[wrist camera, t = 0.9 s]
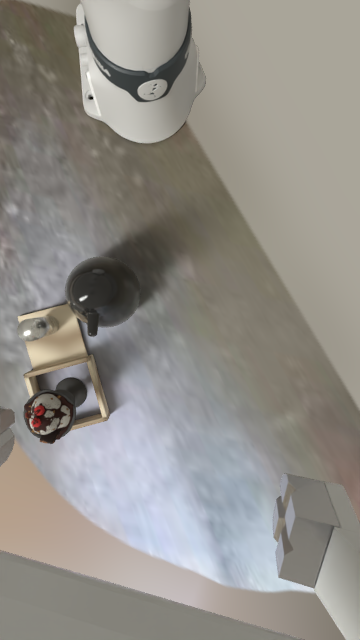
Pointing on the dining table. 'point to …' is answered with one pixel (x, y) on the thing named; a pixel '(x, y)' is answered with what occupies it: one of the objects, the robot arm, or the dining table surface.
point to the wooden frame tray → (58, 352)
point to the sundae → (54, 410)
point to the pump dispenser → (102, 292)
